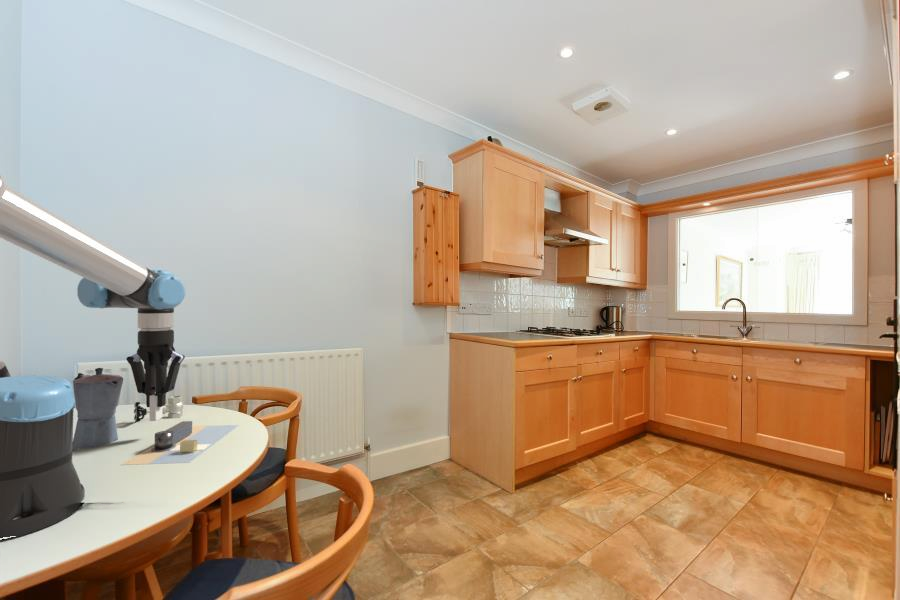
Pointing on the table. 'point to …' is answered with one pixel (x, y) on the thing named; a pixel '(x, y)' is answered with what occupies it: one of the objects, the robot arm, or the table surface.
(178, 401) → the valve
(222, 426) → the door panel
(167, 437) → the latch bar
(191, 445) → the block
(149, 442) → the table surface
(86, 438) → the moka pot
